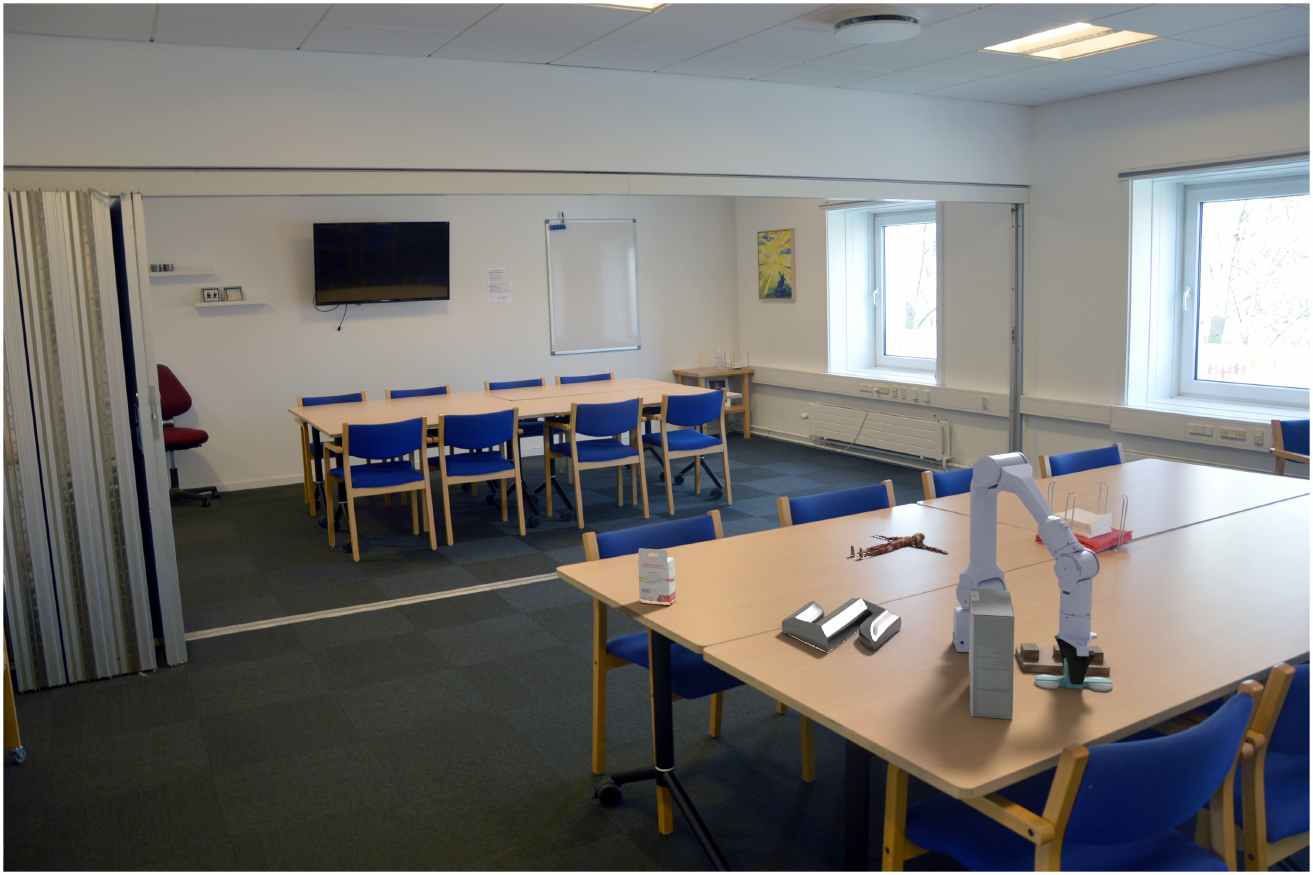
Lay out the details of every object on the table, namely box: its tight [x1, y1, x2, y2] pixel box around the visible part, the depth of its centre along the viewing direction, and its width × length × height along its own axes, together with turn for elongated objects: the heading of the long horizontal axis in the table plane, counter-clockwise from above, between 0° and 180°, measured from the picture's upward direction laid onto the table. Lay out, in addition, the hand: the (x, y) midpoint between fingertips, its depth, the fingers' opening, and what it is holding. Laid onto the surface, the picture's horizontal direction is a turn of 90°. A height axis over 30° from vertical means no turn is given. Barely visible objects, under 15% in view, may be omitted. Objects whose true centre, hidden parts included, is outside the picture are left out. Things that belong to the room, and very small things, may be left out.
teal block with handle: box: [1034, 658, 1113, 692], centre depth 189 cm, size 14×5×5 cm, turn 79°
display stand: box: [1015, 642, 1111, 676], centre depth 199 cm, size 16×10×4 cm, turn 79°
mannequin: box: [850, 532, 949, 558], centre depth 297 cm, size 26×29×4 cm
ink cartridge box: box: [637, 547, 677, 603], centre depth 248 cm, size 9×5×15 cm, turn 68°
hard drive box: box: [968, 588, 1015, 720], centre depth 181 cm, size 16×8×20 cm, turn 163°
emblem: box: [781, 597, 902, 652], centre depth 223 cm, size 28×5×28 cm
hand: (1073, 677), depth 189 cm, fingers open, 5 cm apart
